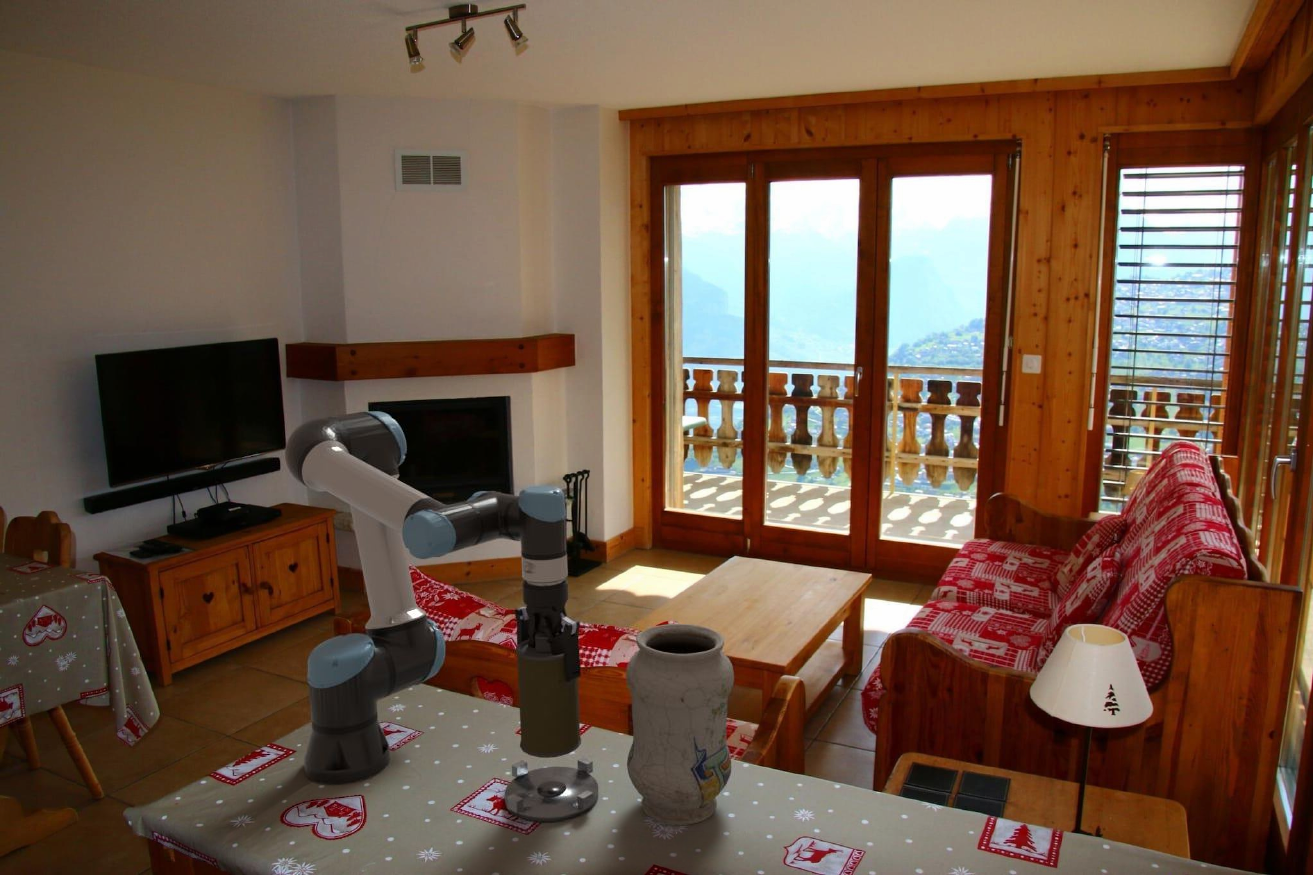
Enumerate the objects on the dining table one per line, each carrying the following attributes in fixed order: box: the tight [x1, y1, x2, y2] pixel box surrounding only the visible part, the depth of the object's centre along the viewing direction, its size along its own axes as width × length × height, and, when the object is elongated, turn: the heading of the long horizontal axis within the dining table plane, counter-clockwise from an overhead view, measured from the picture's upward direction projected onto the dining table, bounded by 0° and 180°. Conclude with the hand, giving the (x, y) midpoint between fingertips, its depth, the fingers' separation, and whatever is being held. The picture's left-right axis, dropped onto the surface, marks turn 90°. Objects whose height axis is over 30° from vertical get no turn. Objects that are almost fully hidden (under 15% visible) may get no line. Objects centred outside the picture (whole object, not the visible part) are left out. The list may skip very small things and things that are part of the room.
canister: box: [515, 632, 582, 759], centre depth 162 cm, size 11×10×20 cm
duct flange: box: [504, 756, 599, 824], centre depth 165 cm, size 18×18×4 cm
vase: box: [625, 623, 735, 826], centre depth 159 cm, size 18×18×30 cm
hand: (549, 710), depth 162 cm, fingers open, 6 cm apart
